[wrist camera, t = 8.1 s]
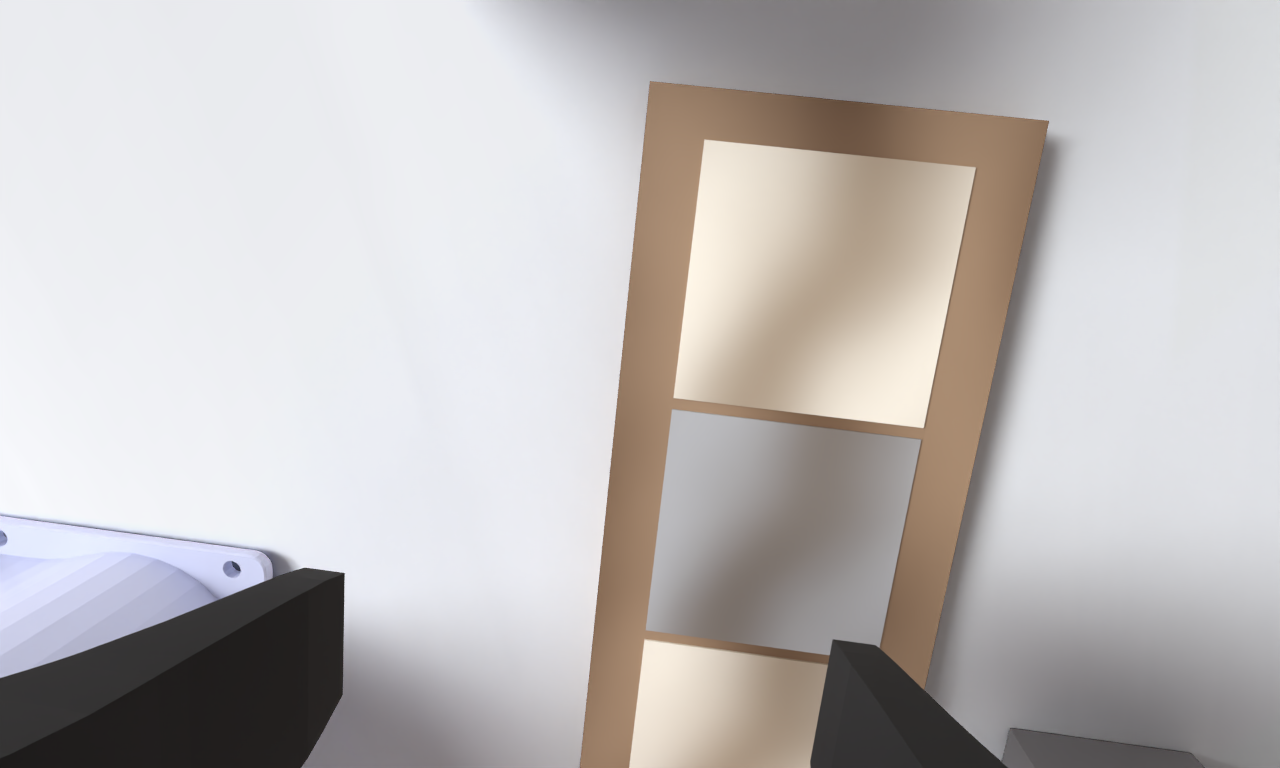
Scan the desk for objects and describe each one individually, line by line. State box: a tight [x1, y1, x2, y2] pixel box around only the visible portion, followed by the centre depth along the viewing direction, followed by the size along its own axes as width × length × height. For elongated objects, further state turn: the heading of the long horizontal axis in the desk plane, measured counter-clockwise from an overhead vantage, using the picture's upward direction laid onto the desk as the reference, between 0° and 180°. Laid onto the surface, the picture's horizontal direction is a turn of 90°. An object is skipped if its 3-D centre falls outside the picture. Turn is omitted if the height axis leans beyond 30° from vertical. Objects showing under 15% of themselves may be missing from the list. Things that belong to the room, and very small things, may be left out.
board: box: [580, 81, 1049, 768], centre depth 20 cm, size 9×28×1 cm, turn 174°
